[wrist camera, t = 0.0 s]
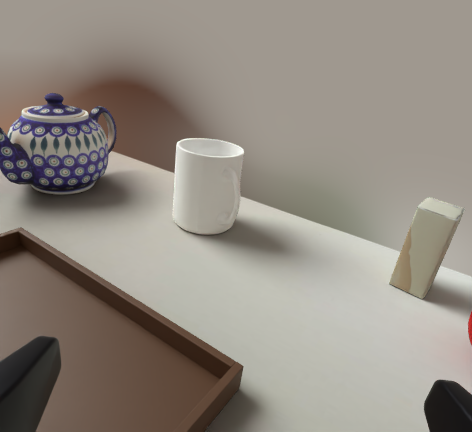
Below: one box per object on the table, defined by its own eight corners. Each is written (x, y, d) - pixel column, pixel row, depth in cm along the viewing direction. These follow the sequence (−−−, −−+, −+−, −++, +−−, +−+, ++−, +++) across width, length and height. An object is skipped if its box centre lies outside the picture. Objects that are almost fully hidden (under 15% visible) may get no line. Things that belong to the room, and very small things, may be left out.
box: (400, 269, 50) (428, 195, 45) (433, 284, 47) (466, 207, 43) (387, 284, 46) (417, 205, 41) (422, 301, 43) (458, 219, 39)
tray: (239, 388, 29) (243, 365, 28) (99, 560, 19) (97, 535, 18) (23, 245, 43) (21, 227, 42) (-125, 297, 33) (-133, 275, 32)
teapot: (90, 159, 75) (86, 84, 68) (146, 177, 69) (147, 97, 63) (-44, 190, 54) (-67, 87, 48) (19, 221, 48) (3, 108, 42)
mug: (201, 203, 61) (207, 135, 56) (259, 229, 55) (272, 155, 50) (158, 219, 54) (161, 142, 49) (220, 250, 48) (230, 167, 43)
